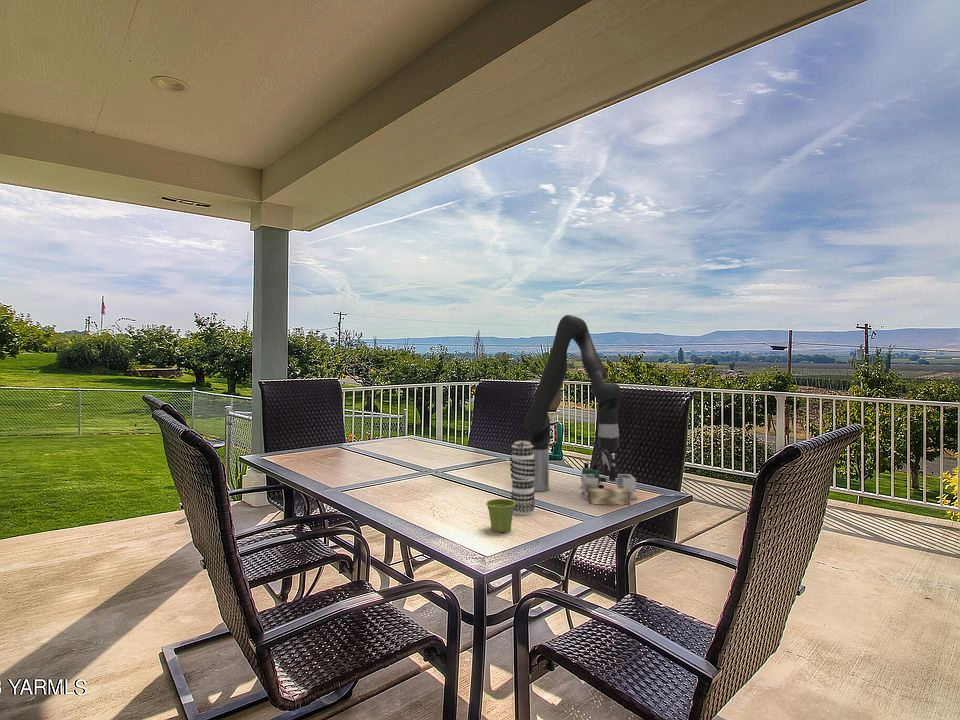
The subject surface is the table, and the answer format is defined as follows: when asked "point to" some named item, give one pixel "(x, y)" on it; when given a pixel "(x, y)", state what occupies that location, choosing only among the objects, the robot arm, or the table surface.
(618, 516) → the table surface
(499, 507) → the plant pot
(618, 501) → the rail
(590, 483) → the cup bracket
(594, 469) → the binoculars
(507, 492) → the table surface
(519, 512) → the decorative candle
